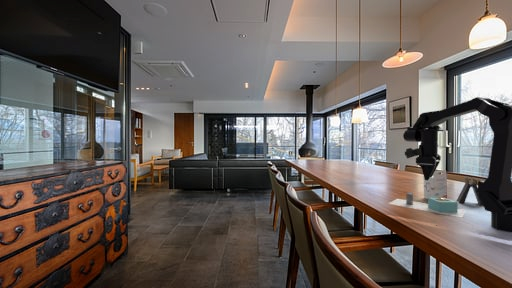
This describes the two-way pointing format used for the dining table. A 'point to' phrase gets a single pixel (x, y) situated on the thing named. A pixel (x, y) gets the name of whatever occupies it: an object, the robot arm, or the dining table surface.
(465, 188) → the phone stand
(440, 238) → the dining table surface
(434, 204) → the collar
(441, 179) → the ink cartridge box
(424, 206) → the board
